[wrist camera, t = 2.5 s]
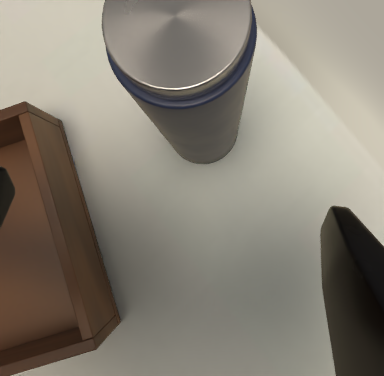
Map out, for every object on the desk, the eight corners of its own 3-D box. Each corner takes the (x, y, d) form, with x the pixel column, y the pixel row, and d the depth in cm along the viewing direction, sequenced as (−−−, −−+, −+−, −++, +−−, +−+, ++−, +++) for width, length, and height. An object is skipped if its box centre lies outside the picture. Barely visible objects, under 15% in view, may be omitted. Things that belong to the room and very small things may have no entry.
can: (246, 151, 20) (284, 65, 8) (181, 173, 21) (120, 122, 8) (224, 87, 21) (228, -89, 8) (160, 109, 21) (73, -30, 9)
